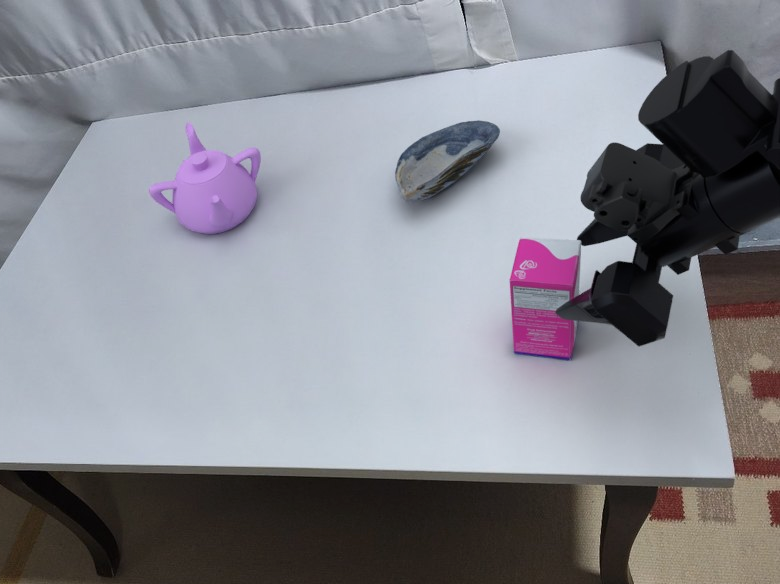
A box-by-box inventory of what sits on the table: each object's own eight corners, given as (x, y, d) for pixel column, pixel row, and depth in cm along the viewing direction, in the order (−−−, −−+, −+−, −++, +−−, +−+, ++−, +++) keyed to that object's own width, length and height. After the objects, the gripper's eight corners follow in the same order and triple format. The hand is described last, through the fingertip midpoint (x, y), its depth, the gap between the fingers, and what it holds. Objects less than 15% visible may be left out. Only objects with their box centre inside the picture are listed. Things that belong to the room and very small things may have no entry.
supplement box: (520, 311, 81) (520, 234, 72) (579, 318, 78) (586, 238, 69) (510, 354, 78) (508, 279, 69) (571, 362, 75) (577, 285, 66)
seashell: (500, 217, 90) (499, 185, 86) (395, 224, 93) (389, 193, 89) (500, 135, 98) (499, 103, 94) (404, 144, 102) (399, 113, 98)
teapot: (208, 172, 108) (186, 120, 101) (286, 192, 102) (269, 138, 95) (157, 227, 103) (131, 177, 96) (236, 252, 97) (214, 199, 90)
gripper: (675, 56, 59) (531, 157, 72) (636, 220, 50) (478, 302, 63) (765, 144, 62) (611, 226, 75) (743, 315, 53) (571, 375, 66)
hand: (569, 277), depth 70 cm, fingers open, 9 cm apart
